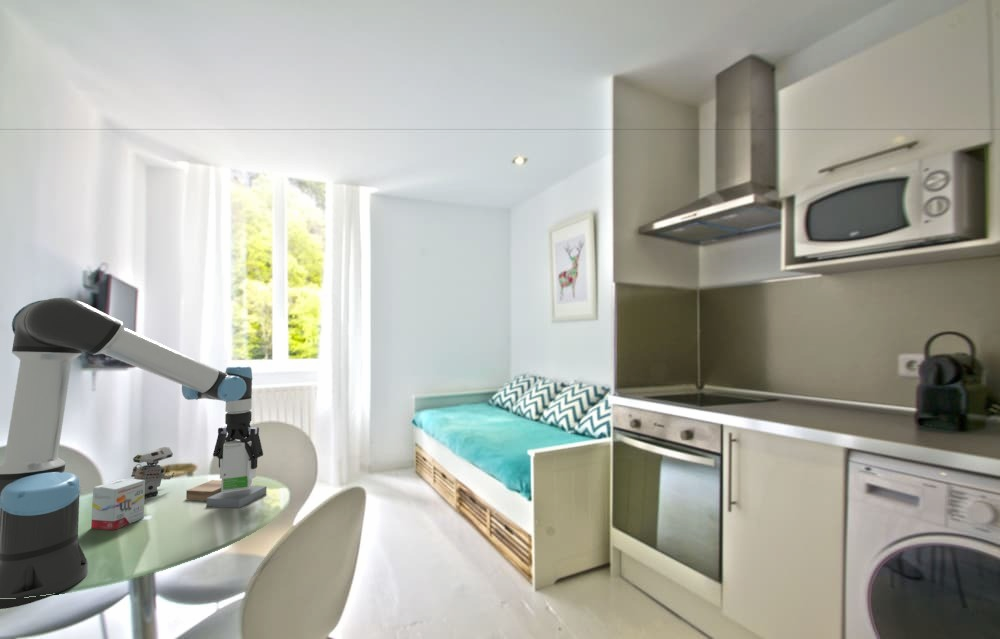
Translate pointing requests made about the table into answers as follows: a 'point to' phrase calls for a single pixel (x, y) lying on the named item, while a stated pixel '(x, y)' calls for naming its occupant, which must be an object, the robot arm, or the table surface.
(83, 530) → the table surface
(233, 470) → the skincare box
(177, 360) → the robot arm
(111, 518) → the ink box
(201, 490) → the walnut stand
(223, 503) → the slate slab
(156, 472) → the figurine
